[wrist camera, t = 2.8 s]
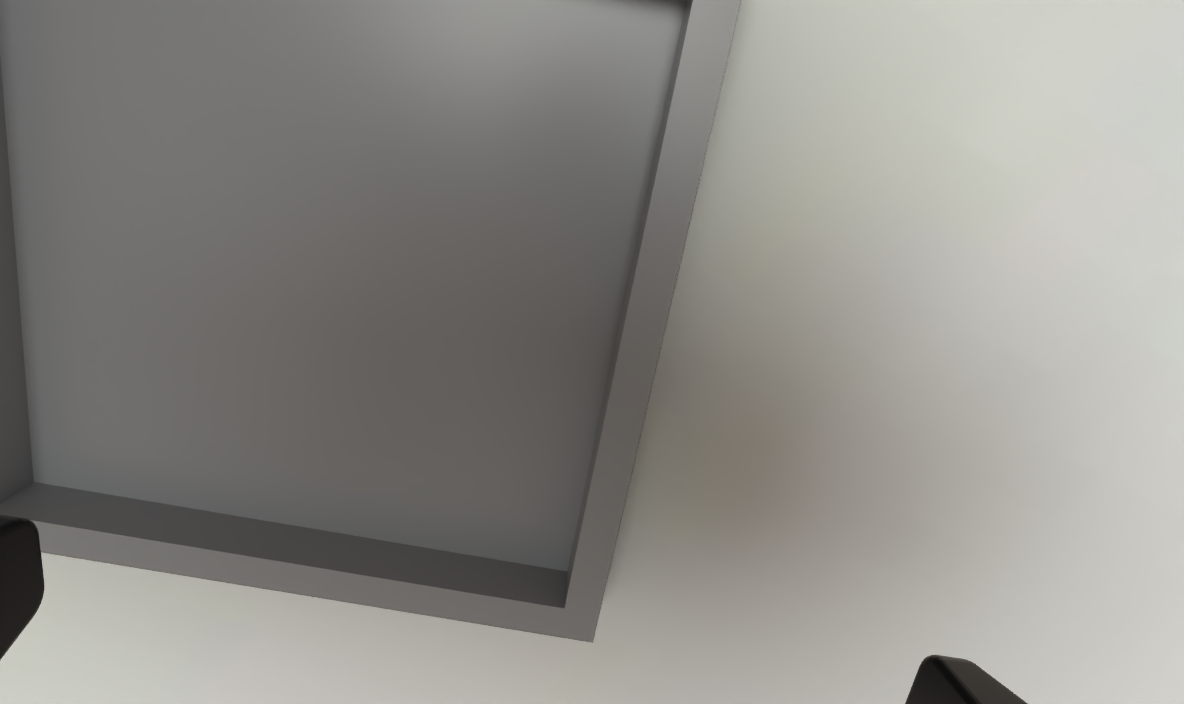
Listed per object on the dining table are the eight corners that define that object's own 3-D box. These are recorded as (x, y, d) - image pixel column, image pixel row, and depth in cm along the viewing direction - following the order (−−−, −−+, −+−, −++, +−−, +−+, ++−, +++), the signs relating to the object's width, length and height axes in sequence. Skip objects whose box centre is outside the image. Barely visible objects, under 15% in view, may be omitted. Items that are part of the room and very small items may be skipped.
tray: (22, 491, 22) (-48, 537, 20) (-35, -191, 16) (-145, -243, 14) (593, 587, 23) (592, 642, 20) (732, -31, 17) (753, -54, 15)
